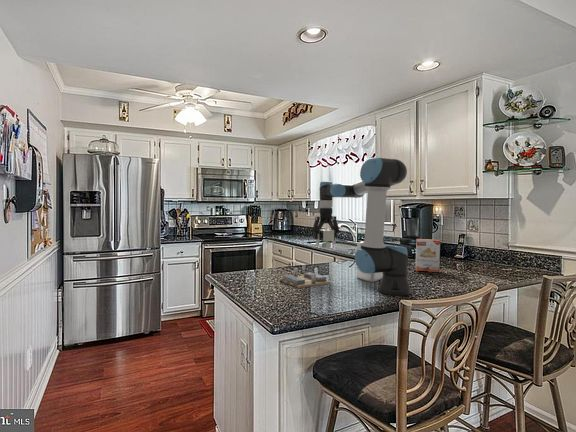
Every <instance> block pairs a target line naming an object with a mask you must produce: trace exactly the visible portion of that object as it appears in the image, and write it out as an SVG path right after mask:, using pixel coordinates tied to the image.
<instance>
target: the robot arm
mask: <svg viewBox="0 0 576 432" xmlns="http://www.w3.org/2000/svg"><path fill="white" fill-rule="evenodd" d="M407 174H408V169H407V166H406V164H405V163H404V162H403V161H401V160H399V159H396V158H387V157H386V158H385V157H384V158H383V157H370V158H367V159H366V160H365V161H364V162H363V164H362V165H361V167H360V171H359V176H360V181H357V182H355V183H353V184H349V183H348V184H343V183H334V184H333V181H327V180H325V181H321V182H319V216H317V215H316V216H315V218H314V219H315V220H314V223H313V226H312V230H311V233H313V234H314V240H315V245H316V246H320V241H319V234H318V233H319V231H320V230H322V227H323V226H324V224H328V225H329V228H330V230H335V232H336V238H335V240H331V245H336V244H337V243H336V241H337V240H336V239H337V238H338V237H337V234H338V233H340V228H339V224H338V221H337V216H336V215H333V208H332V207H333V198H355V199H357V198H358V199H359V198H363V197H364V195H365V194H367V197H366V198H367V199H366V209H365V210H366V211H365V212H366V214H365V228H364V240H363V241H364V242H362V243H361V249H359V250H357V249H356V251H355V255H354V262H355V265H356V268H357V267H358V269H359V270H360V271H361V272H363V273H370V274H373V273H380V272H383V276H382V279H380V282H379V285H378V292H379V293H381V294H383V295H388V296H397V297H403V296H404V295H405V296H409V295H411V294H412V289H411V287H410V283H409V279H408V266H409V265H408V261H409V258H408V257H409V254H408V249H407V247H405V246H399V245H395V244H385V243H384V236H385V235H384V231H385V220H386V219H385V218H386V208H387V207H386V205H387V203H386V202H387V192H388V190H390V189H391V186H392V187H393V186H395V185H398V184H400V183H402V182H403V181H404V180H405V179H406V177H407Z"/></svg>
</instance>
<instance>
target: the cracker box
mask: <svg viewBox="0 0 576 432" xmlns="http://www.w3.org/2000/svg"><path fill="white" fill-rule="evenodd" d="M415 241H416V246H415V271H416V272H418V271H428V272H427V273H432V272H439V273H440V257H441V254H440V253H441V240H440V239H429V238H428V239H427V238H424V239H423V238H416V239H415Z"/></svg>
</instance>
